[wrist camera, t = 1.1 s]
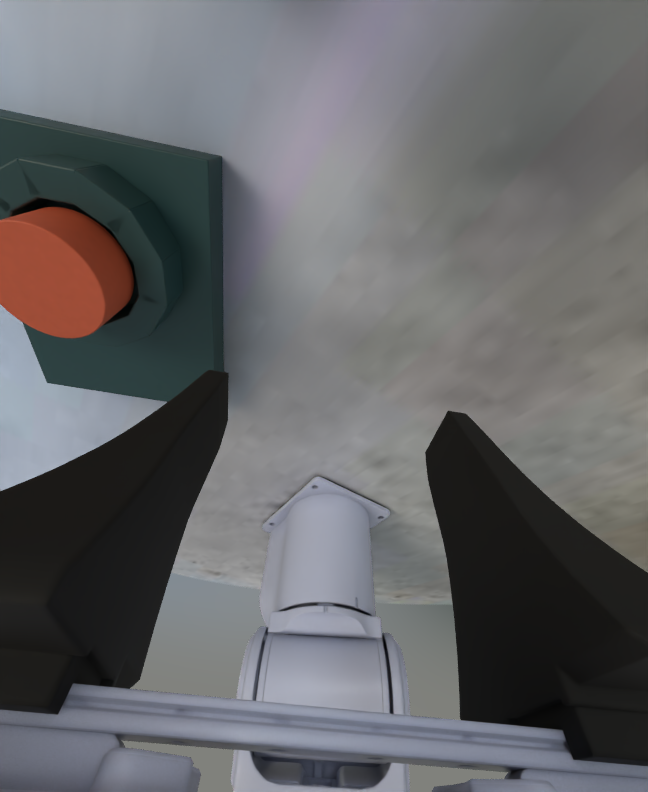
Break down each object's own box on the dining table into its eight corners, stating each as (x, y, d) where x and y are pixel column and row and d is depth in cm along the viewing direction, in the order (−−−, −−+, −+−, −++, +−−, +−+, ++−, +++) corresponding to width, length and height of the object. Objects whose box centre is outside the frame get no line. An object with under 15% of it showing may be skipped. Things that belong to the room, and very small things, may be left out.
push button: (141, 321, 16) (115, 347, 14) (42, 304, 16) (3, 328, 14) (124, 218, 13) (89, 234, 11) (4, 195, 13) (-52, 207, 11)
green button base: (223, 390, 23) (205, 432, 20) (67, 364, 22) (22, 404, 19) (222, 156, 15) (190, 165, 12) (-23, 104, 14) (-127, 98, 11)
